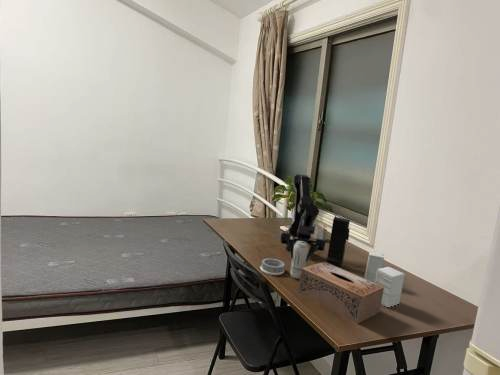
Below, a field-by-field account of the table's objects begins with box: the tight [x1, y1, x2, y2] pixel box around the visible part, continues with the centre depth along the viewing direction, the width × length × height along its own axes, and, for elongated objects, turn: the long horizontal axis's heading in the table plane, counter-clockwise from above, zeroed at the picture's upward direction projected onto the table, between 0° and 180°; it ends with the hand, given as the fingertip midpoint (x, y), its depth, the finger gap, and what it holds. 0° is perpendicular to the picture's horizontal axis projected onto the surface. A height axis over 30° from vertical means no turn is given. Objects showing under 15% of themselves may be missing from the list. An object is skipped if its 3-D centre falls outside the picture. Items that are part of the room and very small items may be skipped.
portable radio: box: [326, 215, 351, 269], centre depth 168 cm, size 8×6×25 cm
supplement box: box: [375, 266, 406, 308], centre depth 137 cm, size 7×7×13 cm
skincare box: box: [363, 251, 385, 283], centre depth 156 cm, size 6×4×12 cm
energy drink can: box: [289, 241, 310, 280], centre depth 151 cm, size 6×6×15 cm
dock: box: [259, 258, 285, 276], centre depth 156 cm, size 10×10×3 cm
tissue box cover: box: [297, 261, 384, 324], centre depth 133 cm, size 26×14×10 cm, turn 42°
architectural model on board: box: [311, 222, 328, 241], centre depth 210 cm, size 11×3×10 cm, turn 31°
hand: (299, 259), depth 150 cm, fingers closed on energy drink can, 6 cm apart
